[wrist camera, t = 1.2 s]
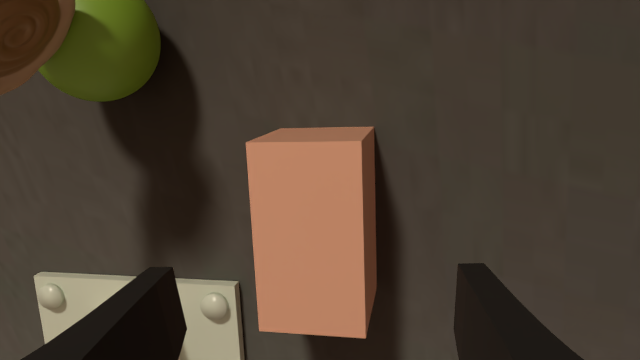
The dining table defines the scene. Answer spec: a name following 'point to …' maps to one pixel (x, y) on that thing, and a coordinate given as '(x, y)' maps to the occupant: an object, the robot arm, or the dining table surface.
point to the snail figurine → (79, 45)
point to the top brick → (314, 229)
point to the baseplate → (195, 295)
